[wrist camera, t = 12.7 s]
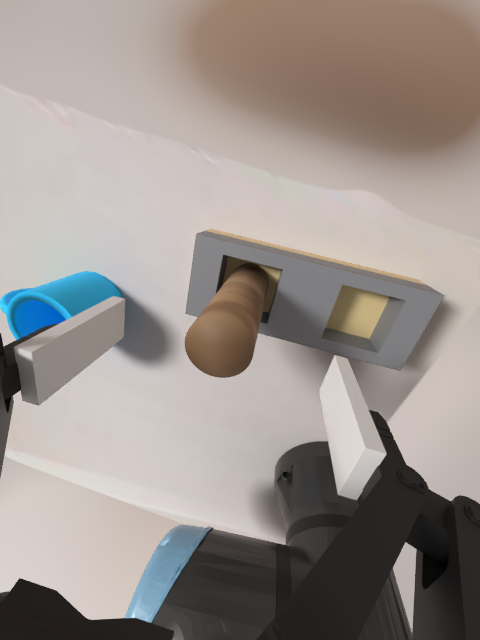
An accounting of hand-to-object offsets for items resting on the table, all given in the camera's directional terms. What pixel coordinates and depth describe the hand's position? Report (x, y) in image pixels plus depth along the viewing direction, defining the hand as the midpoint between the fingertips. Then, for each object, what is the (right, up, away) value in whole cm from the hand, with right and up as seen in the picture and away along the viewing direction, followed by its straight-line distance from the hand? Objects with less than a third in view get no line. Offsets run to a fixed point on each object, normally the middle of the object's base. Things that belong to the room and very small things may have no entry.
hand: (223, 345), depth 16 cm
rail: (+8, +5, +13) cm, 16 cm away
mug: (-19, +4, +18) cm, 27 cm away
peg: (+2, +6, +11) cm, 13 cm away
